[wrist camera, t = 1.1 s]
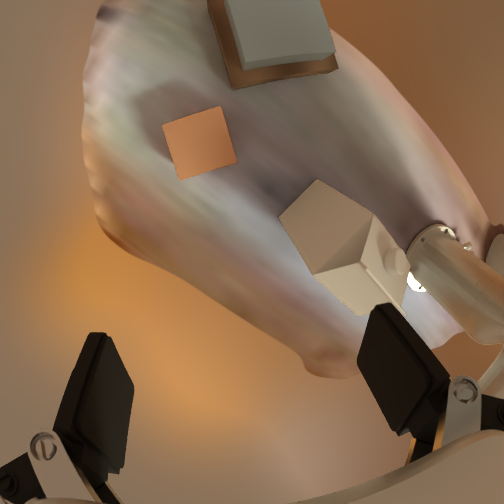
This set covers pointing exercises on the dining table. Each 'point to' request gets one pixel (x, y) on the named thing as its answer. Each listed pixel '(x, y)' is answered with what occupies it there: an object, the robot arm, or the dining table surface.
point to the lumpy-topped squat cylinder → (496, 254)
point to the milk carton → (347, 249)
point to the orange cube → (199, 143)
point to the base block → (263, 73)
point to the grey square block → (278, 31)
